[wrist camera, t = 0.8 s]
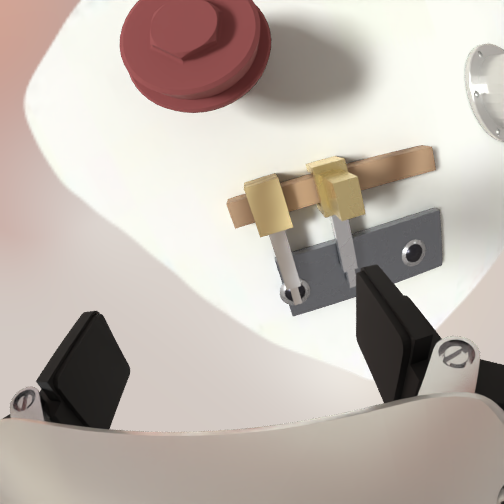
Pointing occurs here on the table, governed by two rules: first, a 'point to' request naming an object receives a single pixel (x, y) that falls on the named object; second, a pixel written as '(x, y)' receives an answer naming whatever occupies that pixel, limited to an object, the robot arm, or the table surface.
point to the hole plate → (366, 259)
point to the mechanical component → (195, 51)
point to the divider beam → (314, 200)
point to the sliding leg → (339, 206)
